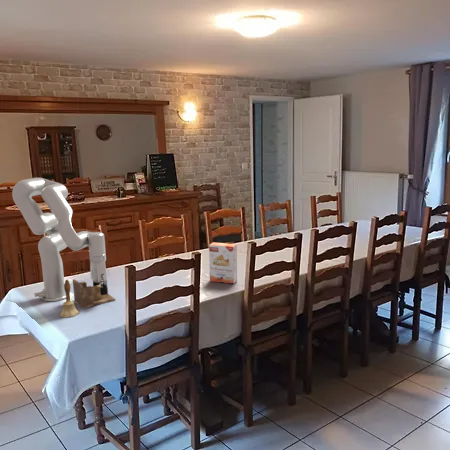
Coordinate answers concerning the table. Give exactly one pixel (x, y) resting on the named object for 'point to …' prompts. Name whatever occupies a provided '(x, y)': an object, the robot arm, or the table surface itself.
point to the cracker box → (223, 262)
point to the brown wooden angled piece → (87, 295)
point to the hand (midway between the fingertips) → (100, 291)
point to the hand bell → (68, 303)
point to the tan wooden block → (98, 293)
